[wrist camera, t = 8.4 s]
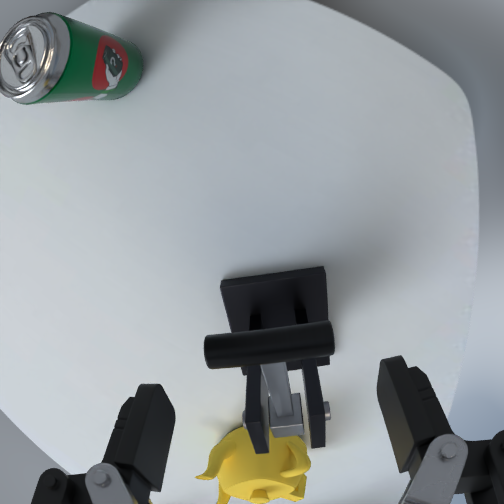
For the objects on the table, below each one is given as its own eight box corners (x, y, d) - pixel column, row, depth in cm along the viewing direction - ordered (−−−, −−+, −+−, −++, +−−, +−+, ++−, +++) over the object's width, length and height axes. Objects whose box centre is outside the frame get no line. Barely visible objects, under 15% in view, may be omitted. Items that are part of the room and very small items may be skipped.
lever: (204, 320, 14) (201, 367, 13) (327, 305, 14) (337, 351, 12) (250, 411, 22) (251, 440, 21) (323, 402, 22) (327, 431, 20)
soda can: (130, 29, 19) (43, -11, 8) (156, 77, 21) (75, 60, 10) (81, 64, 20) (-20, 55, 9) (104, 111, 22) (5, 126, 11)
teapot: (203, 413, 37) (193, 480, 28) (310, 412, 36) (318, 479, 27) (217, 461, 43) (212, 514, 34) (303, 460, 42) (307, 514, 33)
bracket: (221, 280, 28) (198, 392, 17) (323, 265, 28) (360, 373, 16) (243, 367, 33) (237, 473, 21) (328, 357, 32) (350, 461, 21)
